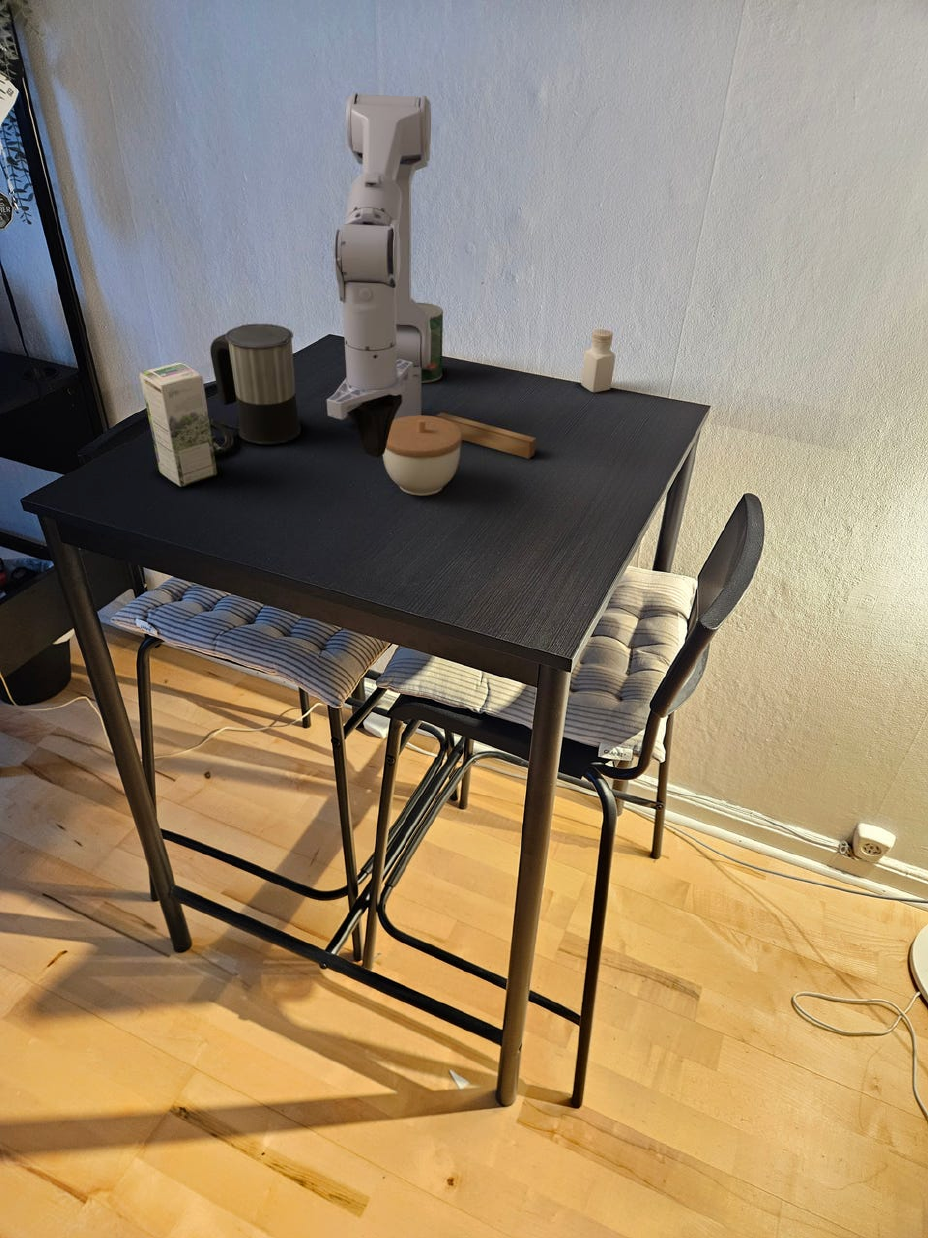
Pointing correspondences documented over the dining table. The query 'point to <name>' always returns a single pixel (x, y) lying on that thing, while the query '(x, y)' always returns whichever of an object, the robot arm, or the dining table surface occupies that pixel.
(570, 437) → the dining table surface
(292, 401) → the milk frother
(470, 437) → the rail
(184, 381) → the syrup box
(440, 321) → the canned tomato
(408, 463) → the trinket box
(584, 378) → the pepper shaker
